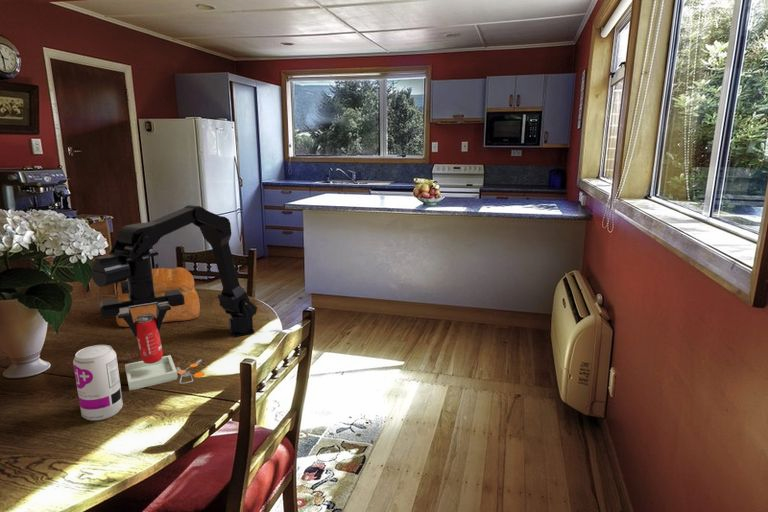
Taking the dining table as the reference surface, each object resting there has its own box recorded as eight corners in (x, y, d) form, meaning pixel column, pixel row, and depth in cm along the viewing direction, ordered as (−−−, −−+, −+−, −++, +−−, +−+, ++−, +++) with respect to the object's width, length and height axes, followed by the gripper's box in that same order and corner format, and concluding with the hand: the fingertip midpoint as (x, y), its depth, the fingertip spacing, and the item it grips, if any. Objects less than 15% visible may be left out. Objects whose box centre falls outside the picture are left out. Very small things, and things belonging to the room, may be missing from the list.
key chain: (206, 381, 123) (205, 378, 123) (175, 386, 120) (175, 383, 120) (203, 360, 135) (203, 357, 134) (175, 364, 132) (175, 361, 132)
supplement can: (94, 426, 103) (84, 363, 99) (74, 414, 107) (64, 353, 103) (130, 409, 109) (122, 349, 106) (110, 398, 114) (102, 340, 110)
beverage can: (155, 365, 122) (147, 323, 118) (137, 363, 123) (128, 321, 119) (167, 355, 127) (160, 314, 123) (150, 353, 128) (142, 313, 124)
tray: (171, 362, 132) (170, 355, 132) (177, 379, 123) (177, 371, 123) (125, 371, 127) (124, 364, 126) (129, 390, 117) (128, 382, 117)
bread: (120, 314, 168) (114, 267, 163) (199, 305, 177) (195, 261, 173) (114, 330, 153) (107, 279, 149) (201, 320, 163) (196, 272, 159)
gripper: (175, 263, 130) (180, 317, 134) (95, 273, 120) (104, 330, 124) (182, 273, 120) (187, 330, 124) (96, 285, 111) (105, 346, 115)
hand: (147, 334), depth 122 cm, fingers closed on beverage can, 5 cm apart
